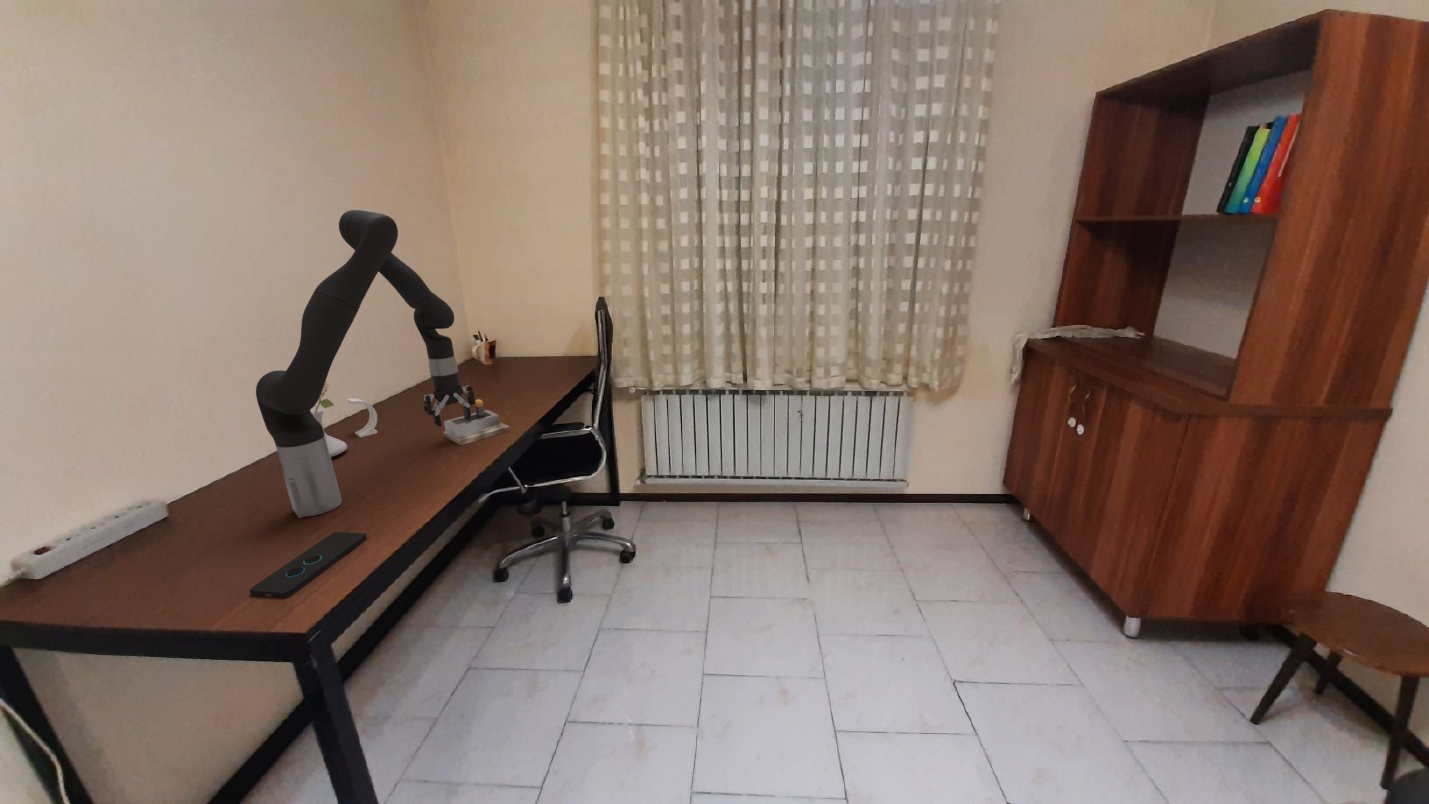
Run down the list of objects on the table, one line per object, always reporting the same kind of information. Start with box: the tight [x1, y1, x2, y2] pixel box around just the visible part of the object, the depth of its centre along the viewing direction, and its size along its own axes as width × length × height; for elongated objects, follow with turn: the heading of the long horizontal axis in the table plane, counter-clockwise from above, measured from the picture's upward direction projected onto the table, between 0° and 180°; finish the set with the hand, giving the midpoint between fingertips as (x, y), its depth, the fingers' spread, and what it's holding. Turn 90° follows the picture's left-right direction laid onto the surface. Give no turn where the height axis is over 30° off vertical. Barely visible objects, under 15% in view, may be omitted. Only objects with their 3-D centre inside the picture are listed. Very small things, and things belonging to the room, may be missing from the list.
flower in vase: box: [310, 380, 348, 458], centre depth 158 cm, size 13×11×25 cm
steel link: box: [443, 409, 501, 439], centre depth 175 cm, size 14×8×4 cm, turn 137°
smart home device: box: [249, 531, 368, 599], centre depth 109 cm, size 8×2×20 cm
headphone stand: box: [346, 398, 378, 438], centre depth 178 cm, size 5×6×12 cm
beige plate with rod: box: [442, 398, 511, 446], centre depth 175 cm, size 16×12×11 cm
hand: (453, 422), depth 170 cm, fingers open, 8 cm apart
